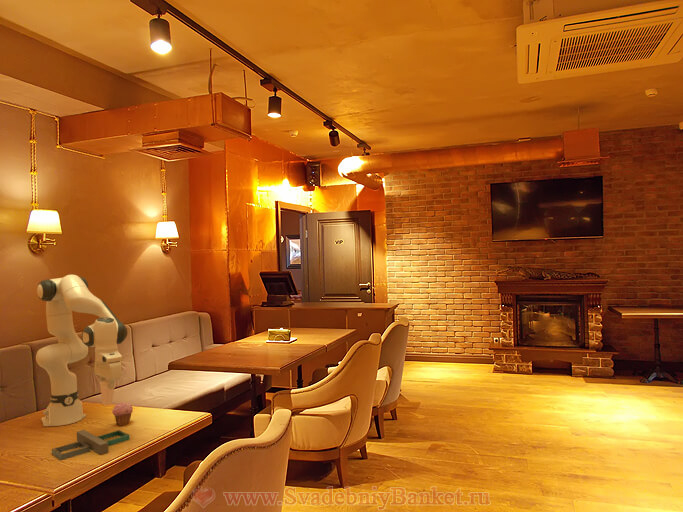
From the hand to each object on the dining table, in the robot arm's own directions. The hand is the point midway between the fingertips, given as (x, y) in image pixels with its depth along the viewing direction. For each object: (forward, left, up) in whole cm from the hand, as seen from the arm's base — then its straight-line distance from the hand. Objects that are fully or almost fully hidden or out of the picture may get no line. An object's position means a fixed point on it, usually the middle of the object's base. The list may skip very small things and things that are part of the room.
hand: (107, 387), depth 207 cm
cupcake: (-19, +14, -23) cm, 33 cm away
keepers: (0, -7, -23) cm, 24 cm away
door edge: (0, -7, -23) cm, 24 cm away
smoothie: (0, -1, -7) cm, 7 cm away
